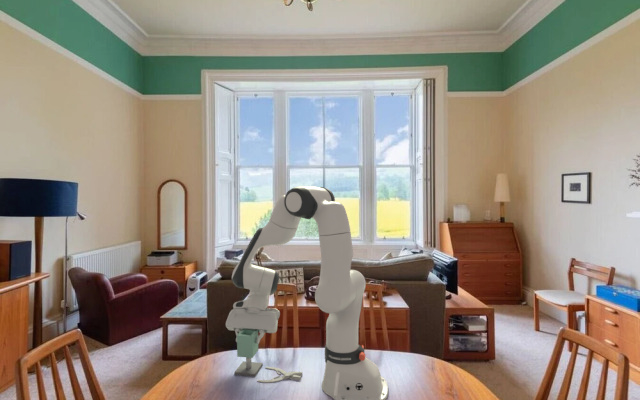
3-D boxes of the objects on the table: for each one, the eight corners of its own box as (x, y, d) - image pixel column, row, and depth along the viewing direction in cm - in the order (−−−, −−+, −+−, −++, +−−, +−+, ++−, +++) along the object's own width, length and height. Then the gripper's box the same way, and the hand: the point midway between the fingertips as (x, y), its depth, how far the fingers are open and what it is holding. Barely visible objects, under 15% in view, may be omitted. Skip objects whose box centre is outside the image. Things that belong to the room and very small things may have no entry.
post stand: (262, 365, 128) (262, 345, 127) (255, 376, 120) (254, 355, 120) (243, 363, 129) (242, 343, 129) (234, 374, 121) (234, 353, 121)
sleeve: (258, 349, 127) (258, 329, 127) (252, 357, 121) (252, 336, 121) (243, 348, 128) (243, 328, 128) (237, 356, 122) (237, 335, 122)
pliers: (266, 364, 126) (304, 367, 124) (266, 368, 126) (304, 371, 124) (257, 378, 116) (298, 382, 114) (257, 383, 116) (298, 386, 114)
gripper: (282, 312, 134) (275, 347, 124) (234, 309, 137) (224, 343, 128) (279, 305, 129) (271, 341, 120) (230, 302, 132) (219, 337, 123)
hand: (247, 342), depth 124 cm, fingers closed on sleeve, 6 cm apart
